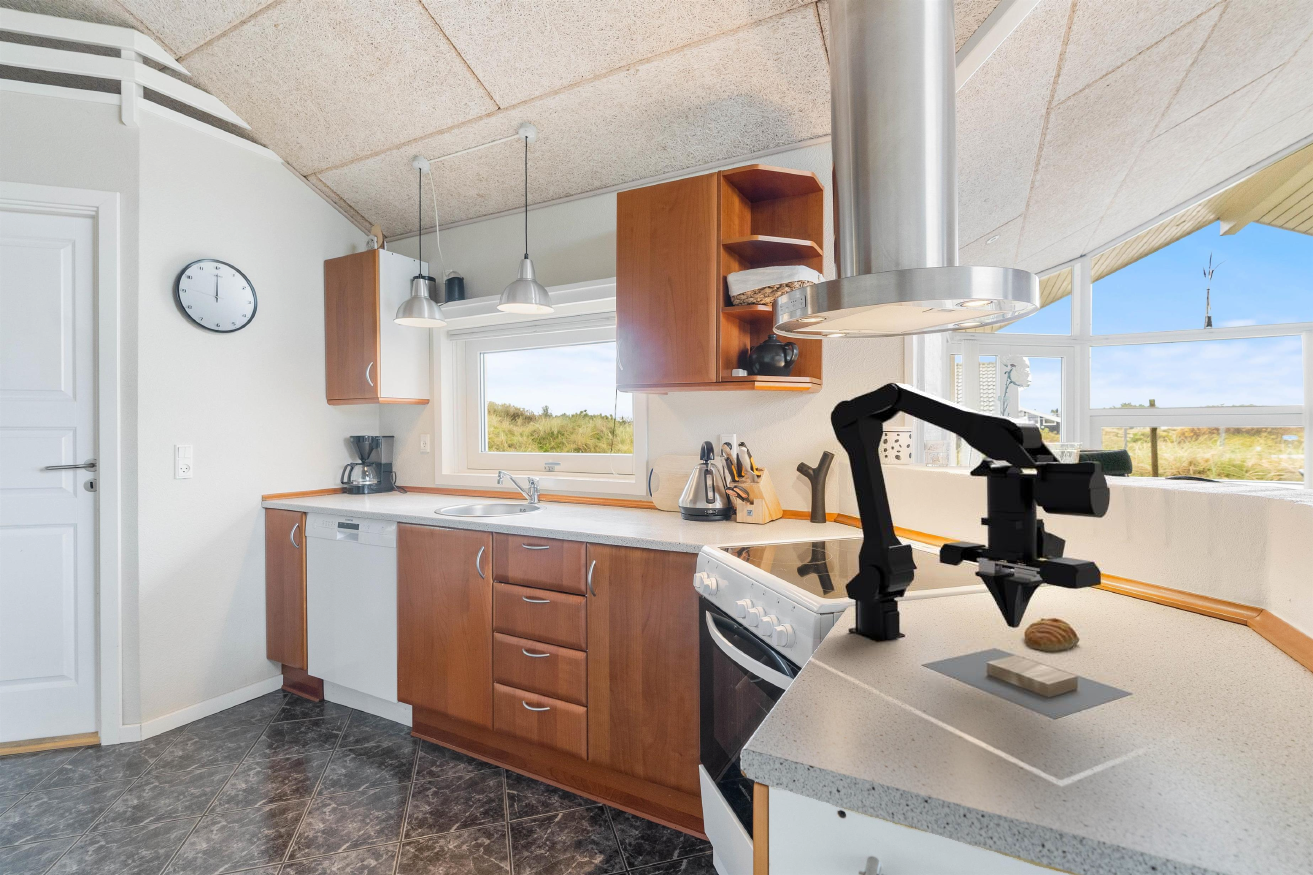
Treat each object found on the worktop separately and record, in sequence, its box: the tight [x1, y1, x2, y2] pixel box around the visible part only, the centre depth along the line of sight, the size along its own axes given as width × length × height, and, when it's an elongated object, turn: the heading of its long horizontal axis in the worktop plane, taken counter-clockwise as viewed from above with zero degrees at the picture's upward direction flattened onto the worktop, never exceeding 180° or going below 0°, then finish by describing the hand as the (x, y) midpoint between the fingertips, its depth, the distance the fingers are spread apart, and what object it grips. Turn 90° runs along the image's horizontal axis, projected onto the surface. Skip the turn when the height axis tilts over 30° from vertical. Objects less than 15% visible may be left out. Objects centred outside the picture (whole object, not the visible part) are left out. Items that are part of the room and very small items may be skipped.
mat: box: [921, 647, 1133, 720], centre depth 77 cm, size 18×16×1 cm
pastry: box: [1024, 617, 1080, 652], centre depth 91 cm, size 9×7×4 cm
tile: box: [987, 655, 1078, 697], centre depth 75 cm, size 2×6×8 cm
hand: (1013, 626), depth 77 cm, fingers closed
